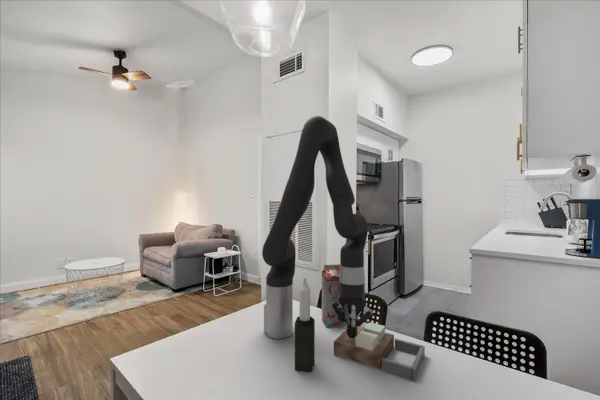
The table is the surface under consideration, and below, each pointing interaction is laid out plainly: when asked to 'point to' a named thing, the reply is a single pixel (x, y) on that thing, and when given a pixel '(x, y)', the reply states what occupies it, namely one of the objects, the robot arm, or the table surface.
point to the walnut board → (370, 358)
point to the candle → (304, 333)
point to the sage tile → (375, 329)
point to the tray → (400, 368)
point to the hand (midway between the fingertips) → (352, 337)
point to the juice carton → (330, 295)
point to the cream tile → (366, 340)
